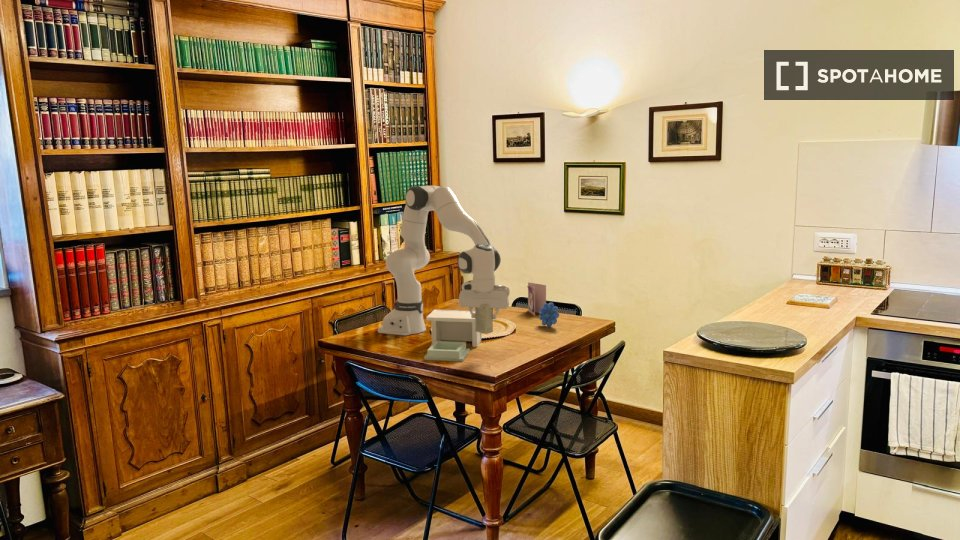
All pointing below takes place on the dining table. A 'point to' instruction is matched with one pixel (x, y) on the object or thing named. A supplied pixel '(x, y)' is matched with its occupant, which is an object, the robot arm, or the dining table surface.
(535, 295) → the greeting card
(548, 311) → the grapes
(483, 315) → the skincare box
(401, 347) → the dining table surface
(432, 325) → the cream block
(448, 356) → the green drawer
